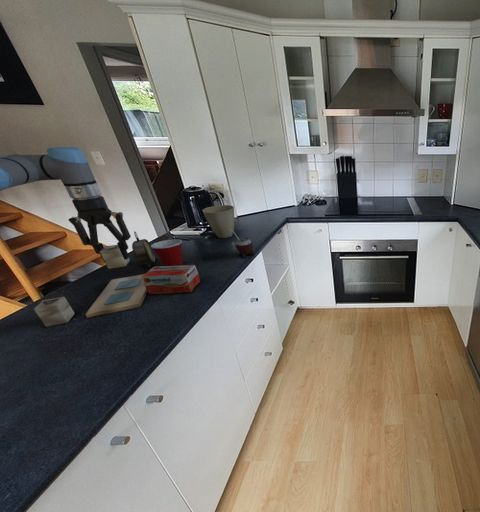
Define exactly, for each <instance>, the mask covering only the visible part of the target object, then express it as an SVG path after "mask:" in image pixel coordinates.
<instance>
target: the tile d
mask: <svg viewBox="0 0 480 512" xmlns="http://www.w3.org/2000/svg"><path fill="white" fill-rule="evenodd" d="M33 310H34V312H35V313H36V314H37V316H38V318H39V319H40V320H41V322H42V323H43V325H44V326H45V327H46V328H48V327H52V326H57V325H61V324H67V323H69V322H70V320H71V319H72V318H73V316H74V315H75V311H74V310H73V308H72V306H71V305H70V303H69V301H68V300H67V298H66V297H65V296H59V297H53V298H47V299H43V300H41V302H39V303H38V304H37V305H36V306H35V307H34V308H33Z"/></svg>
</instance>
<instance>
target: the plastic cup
mask: <svg viewBox="0 0 480 512" xmlns="http://www.w3.org/2000/svg"><path fill="white" fill-rule="evenodd" d="M182 243H183V240H182V239H164V240H161V241H157V242H154V243H151V244H150V245H151V247H152V249H153V252H154V253H155V254H156V255H157V256H158V258H159V259H160V261H161V263H162V264H163V266H184V263H183V262H184V261H183V253H182V252H183V251H182Z"/></svg>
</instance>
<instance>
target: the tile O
mask: <svg viewBox="0 0 480 512" xmlns="http://www.w3.org/2000/svg"><path fill="white" fill-rule="evenodd" d="M100 253H101V255H102V257H103V259H104V261H105V263H104V264H105V265H106V267H107V269H108V270H111V269H116V268H122V267H127V265H128V264H129V263H130V261H131V260H130V256H129V257H128V259H125V260H124V257H123V255H122V253H121V251H120V249H119V247H118V245H117V244H112V245H111V244H110V245H105V246H104V248H103V249H102V250H101V251H100ZM101 255H100V256H101ZM102 257H101V258H102ZM103 259H102V260H103ZM104 261H103V262H104Z"/></svg>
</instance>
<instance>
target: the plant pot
mask: <svg viewBox="0 0 480 512" xmlns="http://www.w3.org/2000/svg"><path fill="white" fill-rule="evenodd" d="M201 211H202V213H203V215H204V217H205V219H206V221H207V223H208V225H209V226H210V228H211V230H212V231H213V233H214V234H215V235H216V236H217V238H218V239H227V238H231V237H232V236H233V235H234V234H233V232H235V231H234V229H235V206H233V205H230V204H228V205H227V204H220V205H211V206H208V207H205V208H203V209H202V210H201ZM227 229H229V230H232V231H233V232H231V231H229V230H227Z"/></svg>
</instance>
